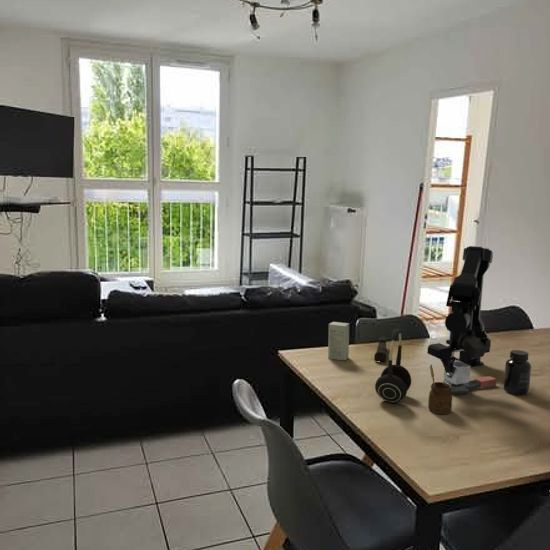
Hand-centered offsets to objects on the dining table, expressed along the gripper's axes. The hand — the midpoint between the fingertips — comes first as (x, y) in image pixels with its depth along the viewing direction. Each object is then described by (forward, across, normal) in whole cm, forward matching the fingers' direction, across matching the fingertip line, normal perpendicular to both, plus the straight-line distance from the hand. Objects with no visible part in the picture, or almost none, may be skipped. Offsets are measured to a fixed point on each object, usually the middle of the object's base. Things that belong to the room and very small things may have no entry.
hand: (456, 376), depth 152 cm
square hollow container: (+1, 0, 0) cm, 1 cm away
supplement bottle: (+4, +16, -7) cm, 18 cm away
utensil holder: (+4, -14, -9) cm, 17 cm away
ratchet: (+4, +5, 0) cm, 7 cm away
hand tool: (+5, -2, +36) cm, 36 cm away
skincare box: (+4, -18, +37) cm, 41 cm away
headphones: (+4, -21, +2) cm, 22 cm away
